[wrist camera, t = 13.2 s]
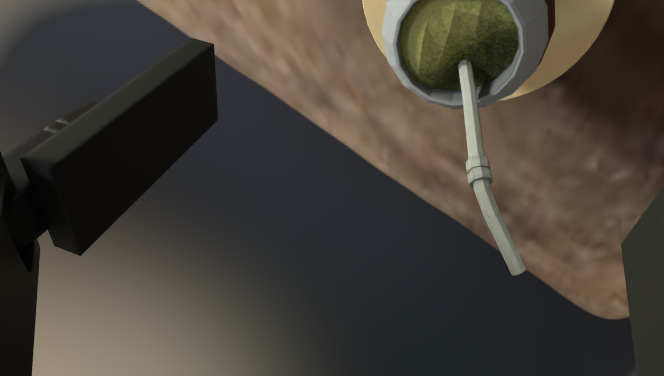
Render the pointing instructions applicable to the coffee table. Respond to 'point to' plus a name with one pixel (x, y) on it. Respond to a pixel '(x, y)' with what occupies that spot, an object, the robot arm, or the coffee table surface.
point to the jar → (563, 49)
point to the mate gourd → (469, 70)
